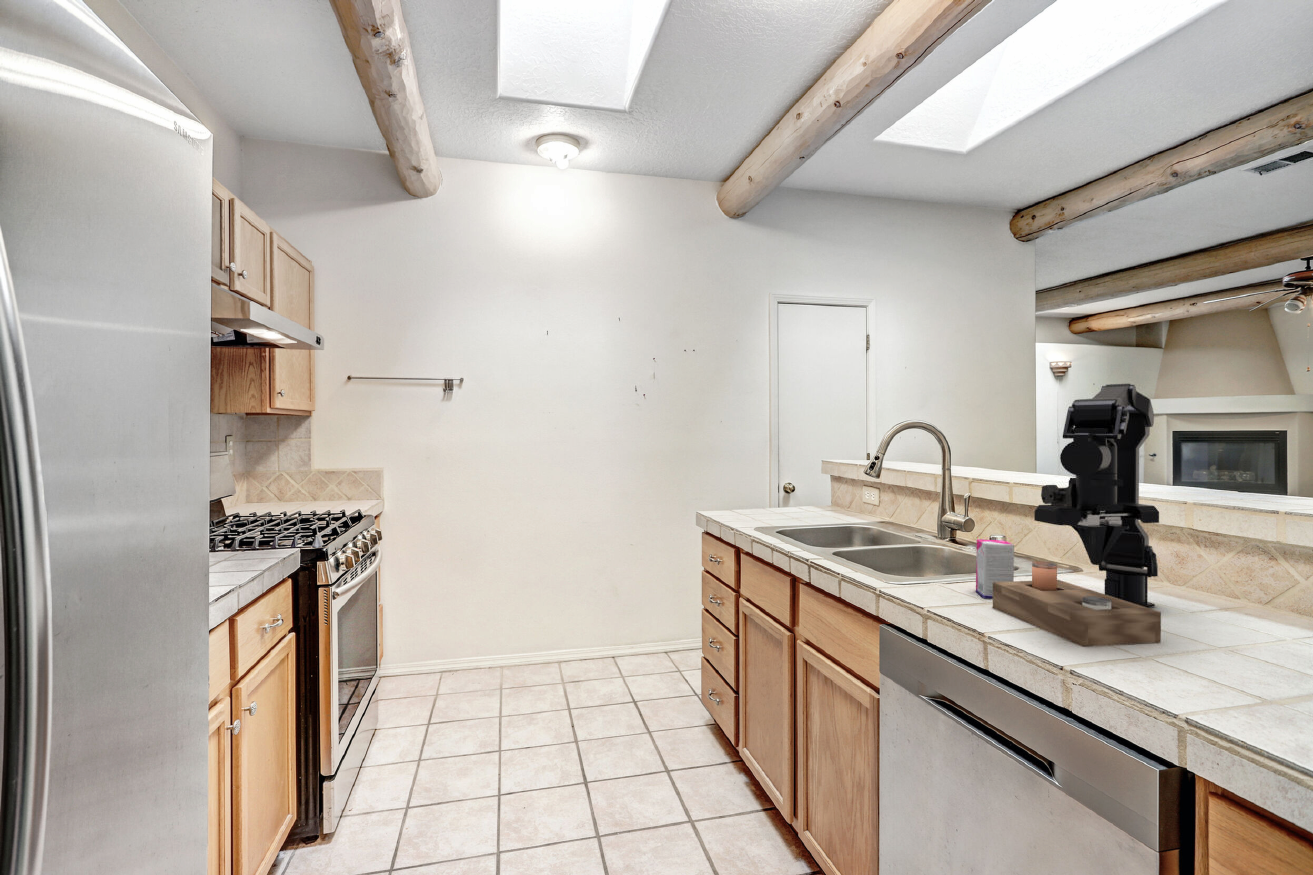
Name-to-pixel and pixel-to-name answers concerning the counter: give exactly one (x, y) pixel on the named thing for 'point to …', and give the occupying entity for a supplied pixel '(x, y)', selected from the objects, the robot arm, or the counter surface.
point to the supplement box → (993, 565)
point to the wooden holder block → (1078, 614)
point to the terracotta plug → (1044, 576)
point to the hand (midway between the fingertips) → (1095, 564)
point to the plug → (1096, 603)
